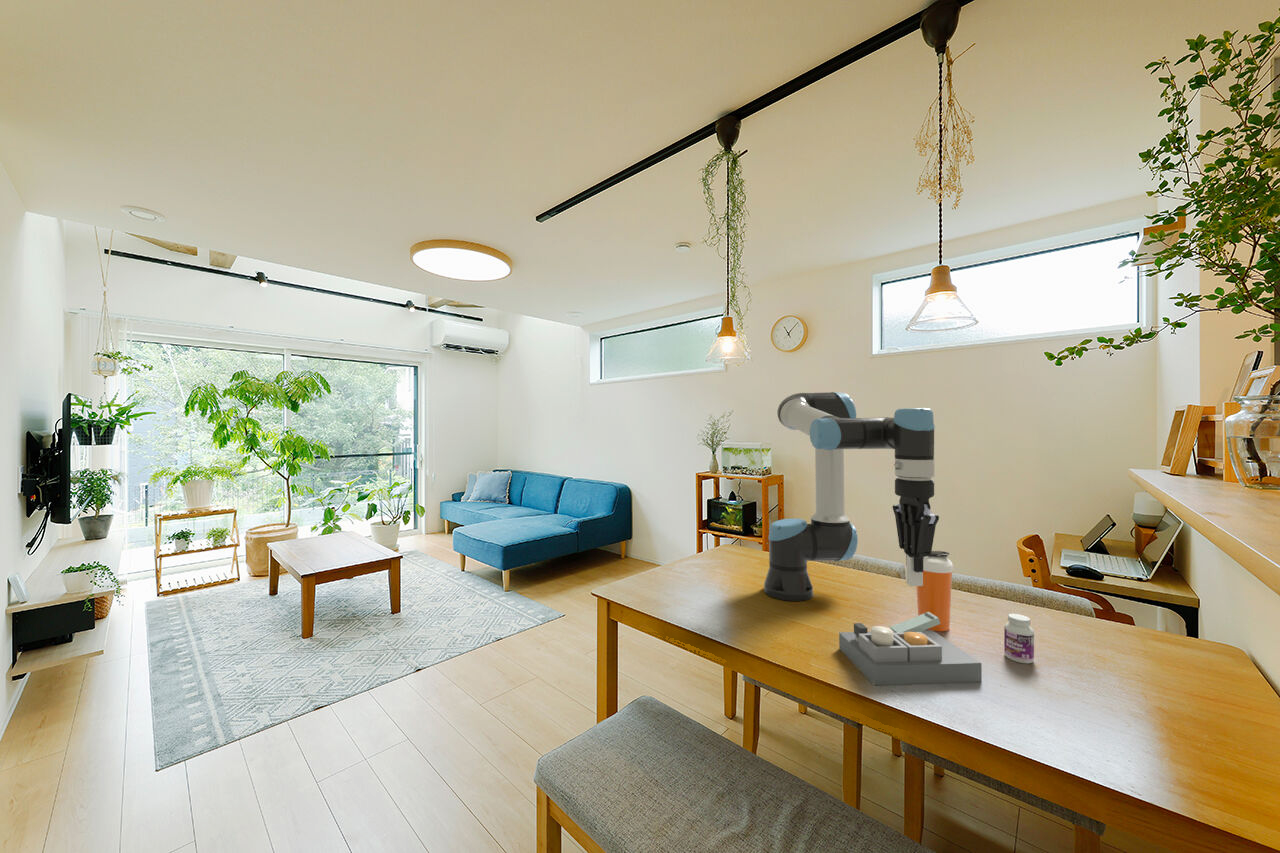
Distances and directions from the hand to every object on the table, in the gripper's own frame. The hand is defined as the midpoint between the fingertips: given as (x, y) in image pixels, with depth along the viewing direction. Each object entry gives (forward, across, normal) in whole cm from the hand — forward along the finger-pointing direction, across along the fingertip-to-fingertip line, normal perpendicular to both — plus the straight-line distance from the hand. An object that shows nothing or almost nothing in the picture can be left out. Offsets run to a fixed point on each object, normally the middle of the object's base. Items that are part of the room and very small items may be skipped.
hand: (914, 584), depth 104 cm
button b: (+14, 0, 0) cm, 14 cm away
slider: (+14, -6, -9) cm, 18 cm away
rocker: (+12, -6, +4) cm, 14 cm away
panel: (+19, -3, 0) cm, 19 cm away
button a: (+13, 0, -8) cm, 15 cm away
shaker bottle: (+19, -22, +19) cm, 35 cm away
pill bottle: (+19, -4, +27) cm, 33 cm away
